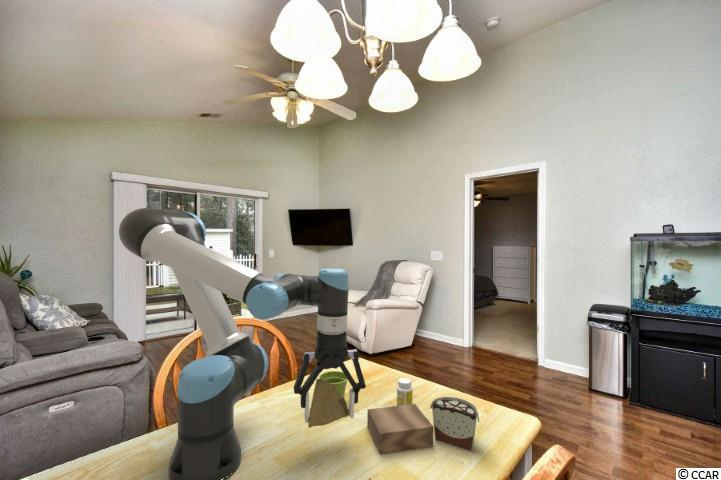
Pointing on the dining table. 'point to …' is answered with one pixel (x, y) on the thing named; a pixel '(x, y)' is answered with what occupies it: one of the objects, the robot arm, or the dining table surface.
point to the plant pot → (336, 380)
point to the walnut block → (399, 428)
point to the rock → (326, 404)
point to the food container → (454, 422)
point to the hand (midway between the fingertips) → (329, 417)
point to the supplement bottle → (404, 392)
